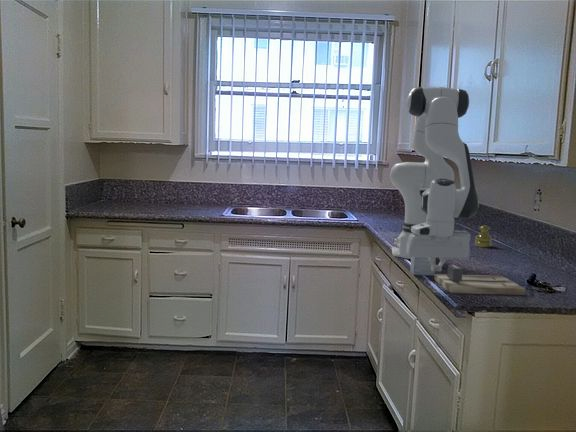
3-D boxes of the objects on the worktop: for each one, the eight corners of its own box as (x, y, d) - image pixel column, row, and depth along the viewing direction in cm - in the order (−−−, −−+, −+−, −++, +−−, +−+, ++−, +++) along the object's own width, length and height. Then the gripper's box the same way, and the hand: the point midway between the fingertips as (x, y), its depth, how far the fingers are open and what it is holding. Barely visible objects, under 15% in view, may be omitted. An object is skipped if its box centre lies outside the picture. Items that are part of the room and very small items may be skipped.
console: (433, 279, 178) (434, 273, 177) (501, 281, 179) (502, 275, 179) (450, 292, 162) (450, 286, 162) (524, 294, 163) (525, 288, 163)
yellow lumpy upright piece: (492, 248, 240) (494, 227, 238) (475, 247, 241) (477, 226, 240) (489, 245, 247) (491, 224, 246) (473, 244, 248) (475, 223, 247)
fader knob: (447, 276, 172) (448, 264, 171) (456, 276, 172) (457, 265, 172) (452, 280, 167) (453, 268, 166) (461, 280, 167) (462, 268, 167)
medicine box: (431, 273, 187) (433, 249, 186) (434, 276, 182) (436, 252, 181) (409, 272, 187) (411, 248, 185) (413, 275, 182) (414, 251, 181)
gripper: (467, 228, 170) (463, 269, 172) (406, 226, 169) (403, 267, 171) (474, 231, 164) (470, 274, 166) (411, 229, 163) (408, 272, 165)
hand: (436, 270), depth 169 cm, fingers closed
